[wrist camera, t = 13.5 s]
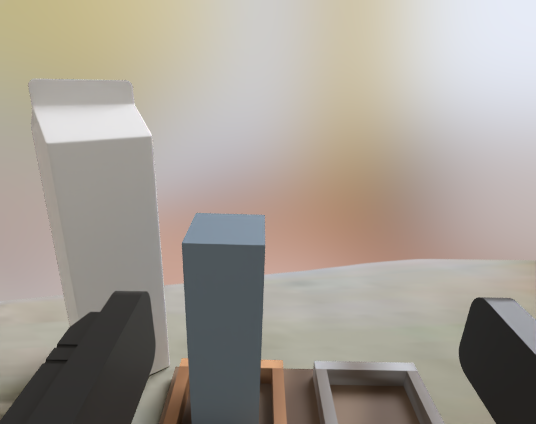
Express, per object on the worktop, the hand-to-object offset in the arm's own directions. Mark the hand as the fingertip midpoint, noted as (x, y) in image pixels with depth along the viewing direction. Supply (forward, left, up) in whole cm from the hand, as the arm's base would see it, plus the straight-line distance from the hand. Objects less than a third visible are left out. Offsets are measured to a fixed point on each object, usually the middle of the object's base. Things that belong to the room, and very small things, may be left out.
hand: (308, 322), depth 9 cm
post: (+3, -10, -16) cm, 19 cm away
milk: (+12, -17, -17) cm, 27 cm away
